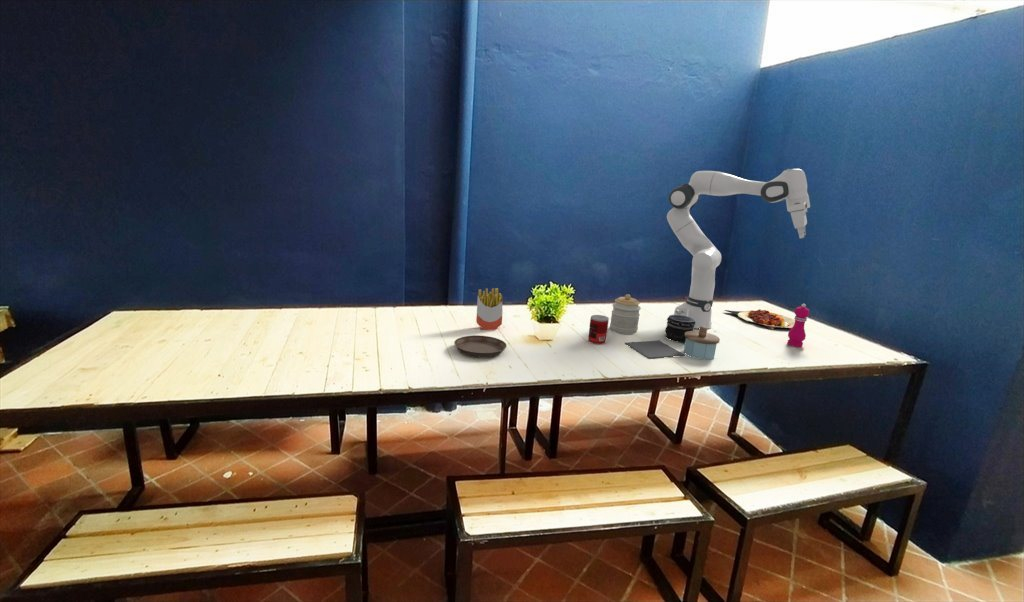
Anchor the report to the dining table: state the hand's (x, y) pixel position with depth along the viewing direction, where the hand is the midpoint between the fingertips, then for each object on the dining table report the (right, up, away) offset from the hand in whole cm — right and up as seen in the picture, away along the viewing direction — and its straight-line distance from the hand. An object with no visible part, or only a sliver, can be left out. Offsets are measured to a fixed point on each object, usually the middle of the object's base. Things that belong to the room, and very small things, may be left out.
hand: (802, 236), depth 228 cm
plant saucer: (-140, -48, -22) cm, 150 cm away
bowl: (-48, -51, -8) cm, 70 cm away
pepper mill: (+4, -49, +14) cm, 51 cm away
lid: (-48, -44, -9) cm, 66 cm away
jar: (-75, -42, +17) cm, 88 cm away
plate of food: (+7, -40, +51) cm, 65 cm away
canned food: (-91, -46, -1) cm, 102 cm away
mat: (-67, -49, -6) cm, 83 cm away
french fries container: (-138, -41, +6) cm, 144 cm away
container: (-51, -46, +11) cm, 69 cm away
